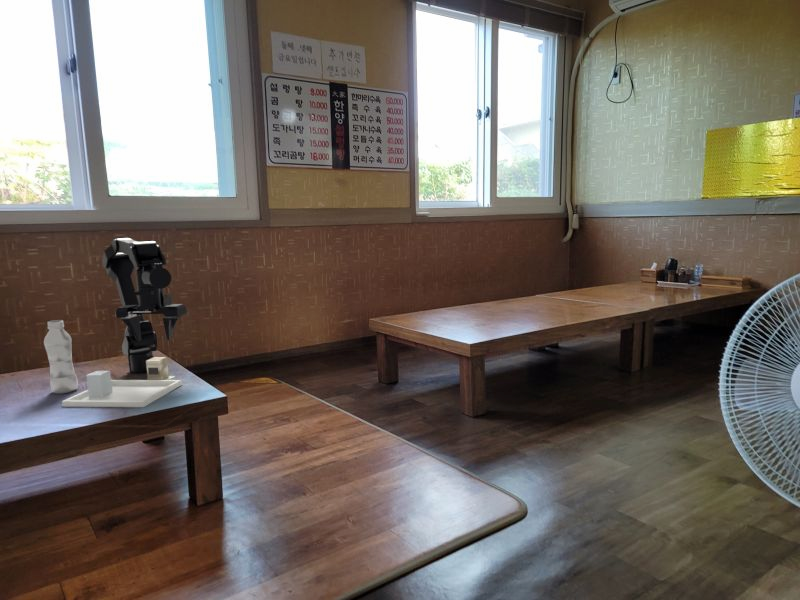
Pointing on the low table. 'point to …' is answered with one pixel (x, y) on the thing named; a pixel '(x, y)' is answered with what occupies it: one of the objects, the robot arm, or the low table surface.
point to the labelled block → (157, 368)
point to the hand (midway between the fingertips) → (154, 340)
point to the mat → (168, 378)
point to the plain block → (99, 383)
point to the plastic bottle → (60, 358)
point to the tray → (125, 394)
